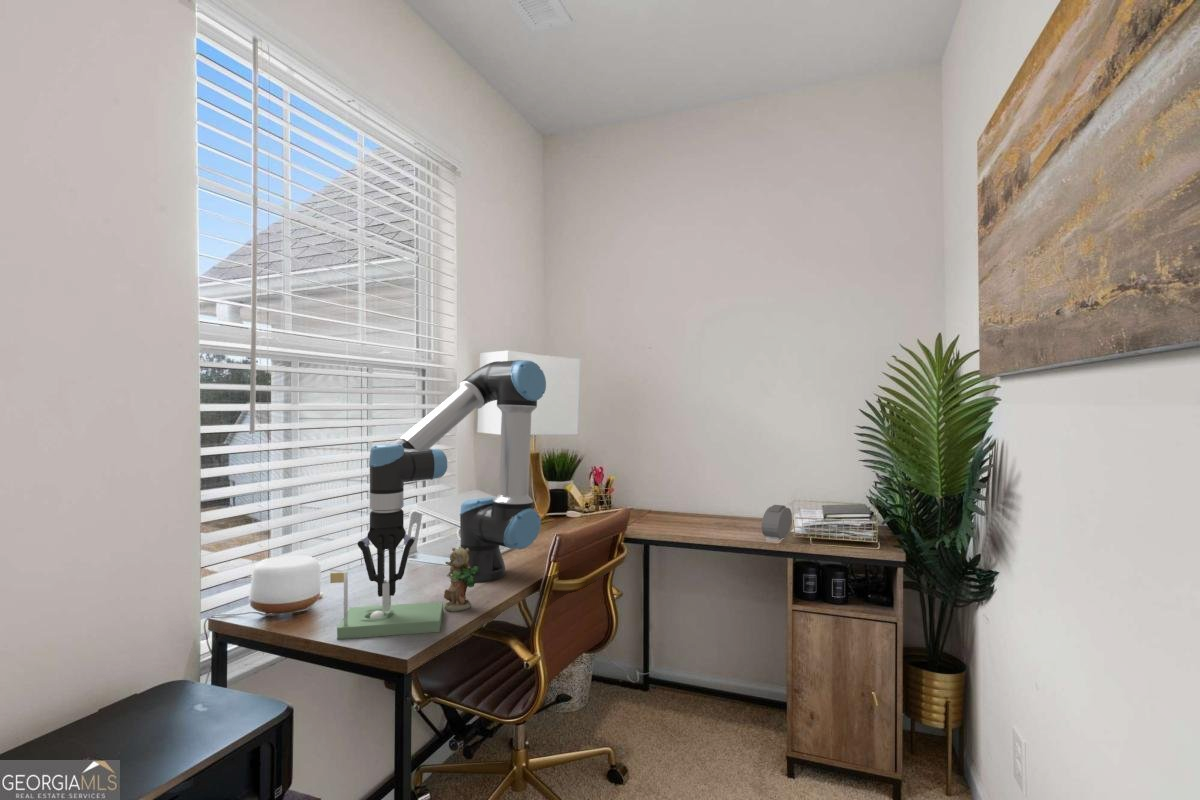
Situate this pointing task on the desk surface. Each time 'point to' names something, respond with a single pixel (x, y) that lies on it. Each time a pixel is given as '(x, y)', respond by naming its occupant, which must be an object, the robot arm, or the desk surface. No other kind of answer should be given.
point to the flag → (341, 578)
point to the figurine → (459, 580)
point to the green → (392, 620)
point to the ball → (376, 615)
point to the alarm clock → (776, 522)
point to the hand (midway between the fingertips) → (386, 609)
